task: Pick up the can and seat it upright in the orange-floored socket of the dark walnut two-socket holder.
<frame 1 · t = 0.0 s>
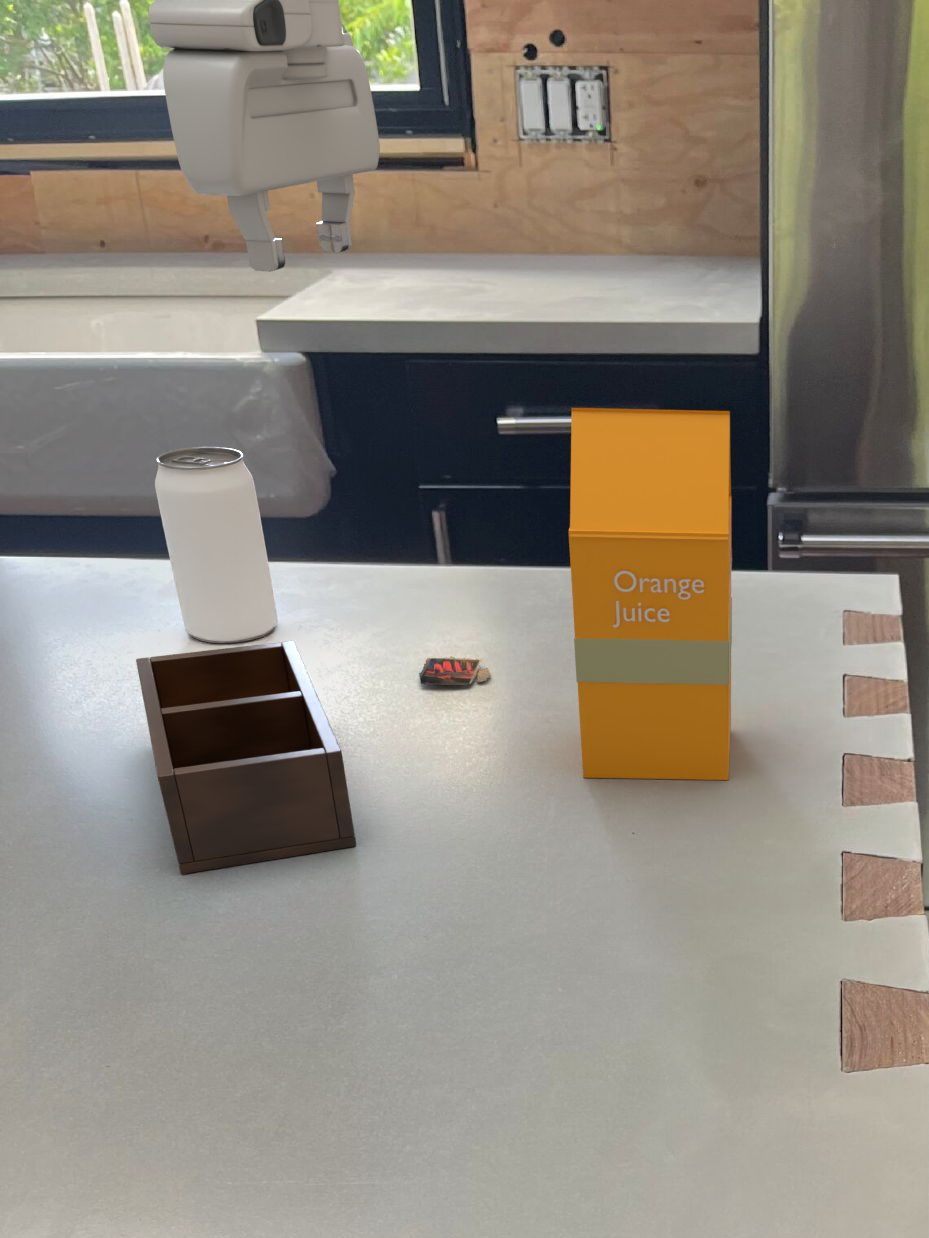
hand: (303, 260, 101), 23 cm above the kitchen island, tool pointing down, fingers open, 8 cm apart
holder: (250, 793, 86), on the kitchen island
can: (233, 632, 108), on the kitchen island
matchbox: (455, 677, 101), on the kitchen island
orange juice: (659, 755, 92), on the kitchen island
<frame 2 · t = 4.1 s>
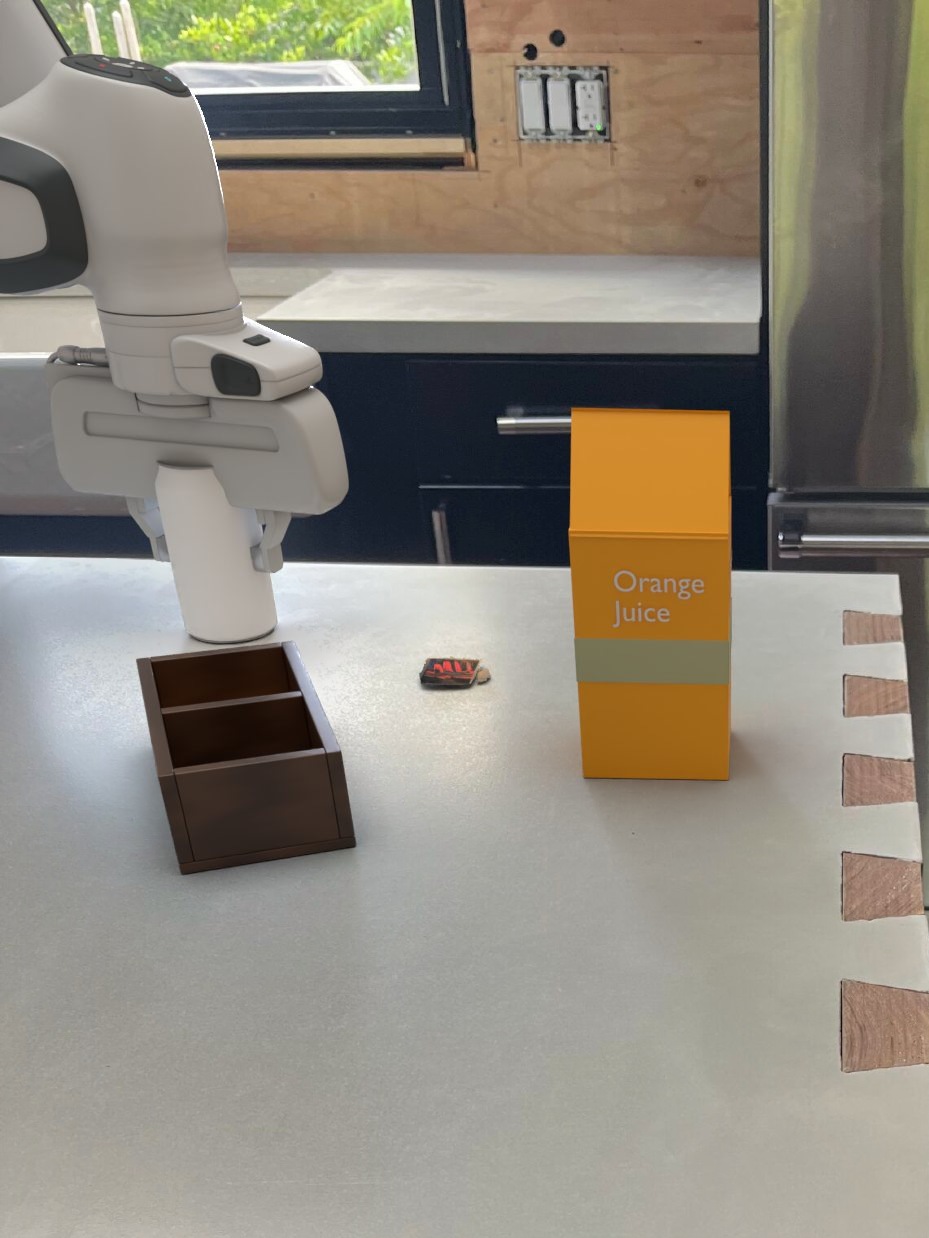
hand: (220, 565, 105), 5 cm above the kitchen island, tool pointing down, fingers closed on can, 6 cm apart
can: (233, 632, 108), on the kitchen island, touching gripper
everything else where it was.
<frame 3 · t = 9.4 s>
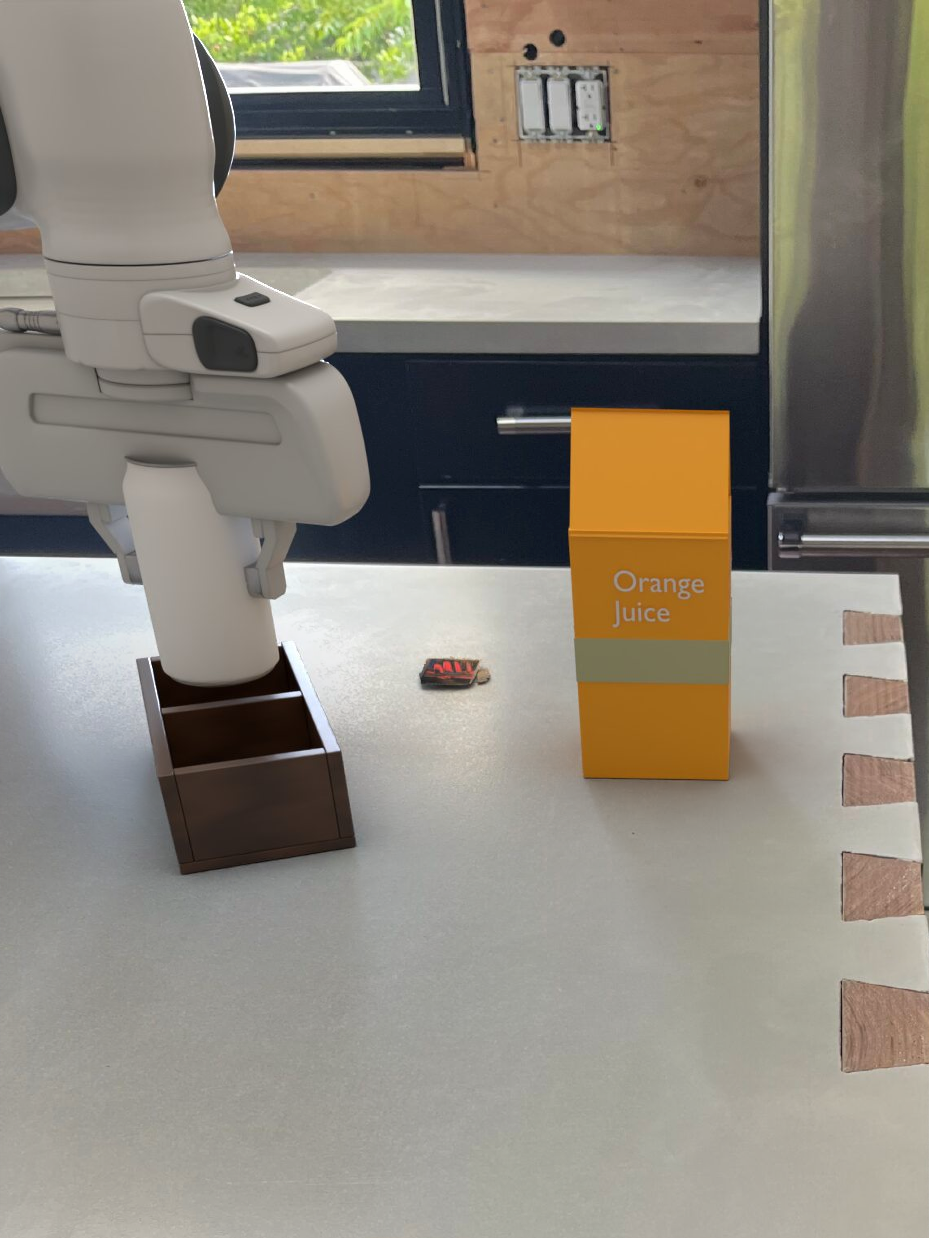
hand: (206, 589, 83), 11 cm above the kitchen island, tool pointing down, fingers closed on can, 6 cm apart
can: (223, 672, 86), point 6 cm above the kitchen island, touching gripper
everything else where it was.
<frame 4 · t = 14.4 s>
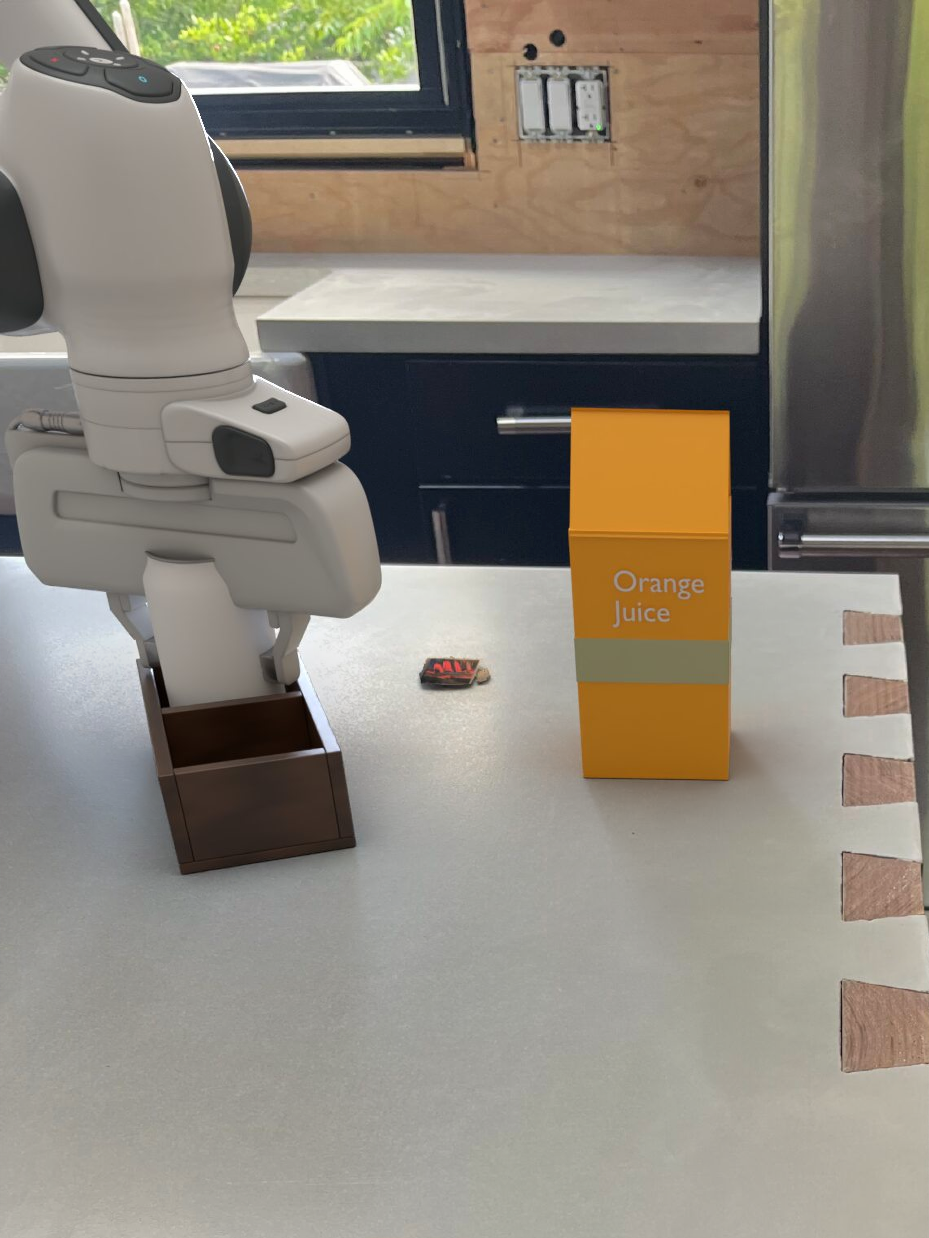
hand: (222, 673, 86), 6 cm above the kitchen island, tool pointing down, fingers closed on can, 6 cm apart
can: (238, 751, 89), point 1 cm above the kitchen island, touching gripper
everything else where it was.
when the fingers open (6 cm above the kitchen island, at t = 18.2 s): can stays where it is, resting on holder.
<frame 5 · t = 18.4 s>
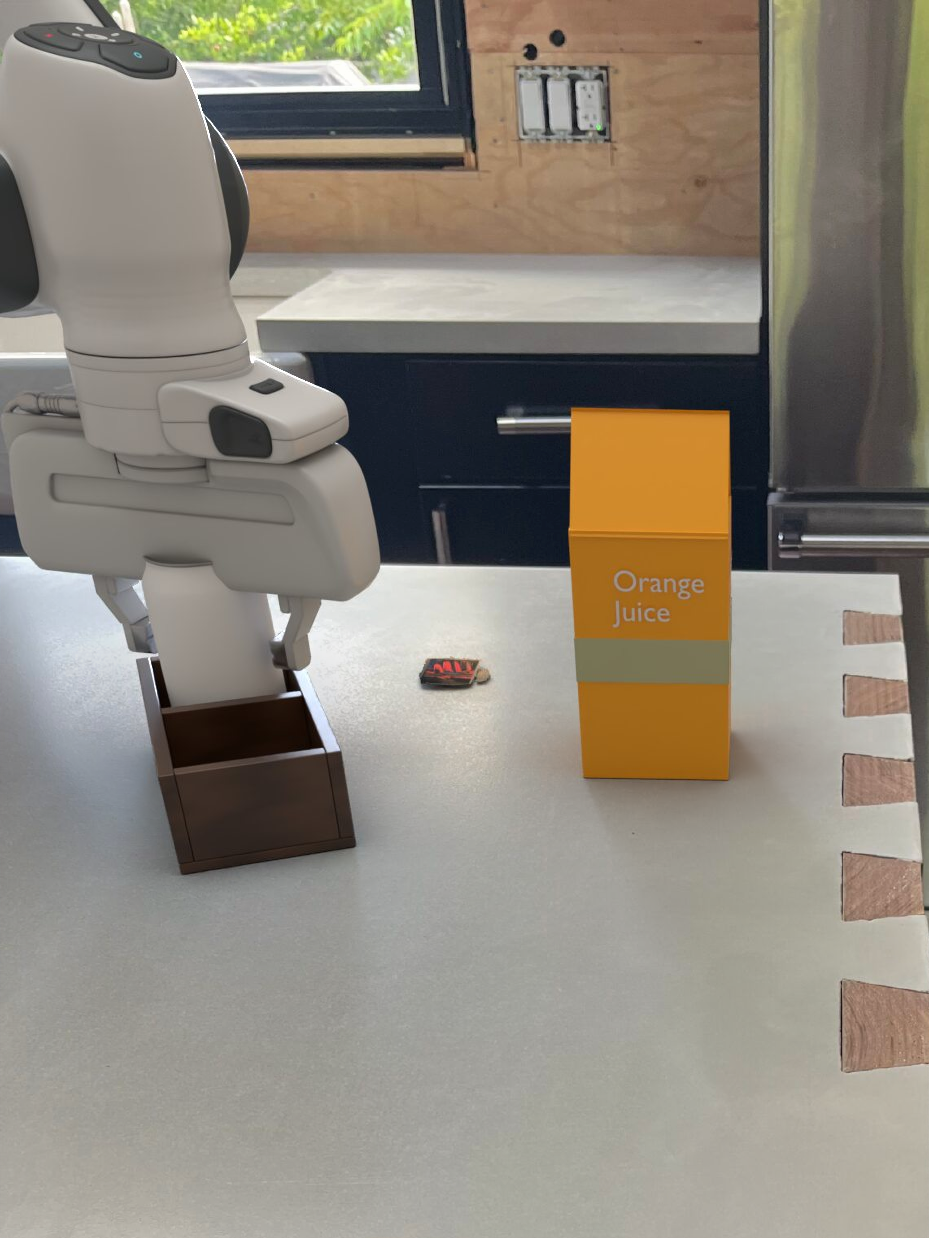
hand: (220, 658, 85), 7 cm above the kitchen island, tool pointing down, fingers open, 8 cm apart
can: (241, 753, 89), point 1 cm above the kitchen island, touching holder
everything else where it was.
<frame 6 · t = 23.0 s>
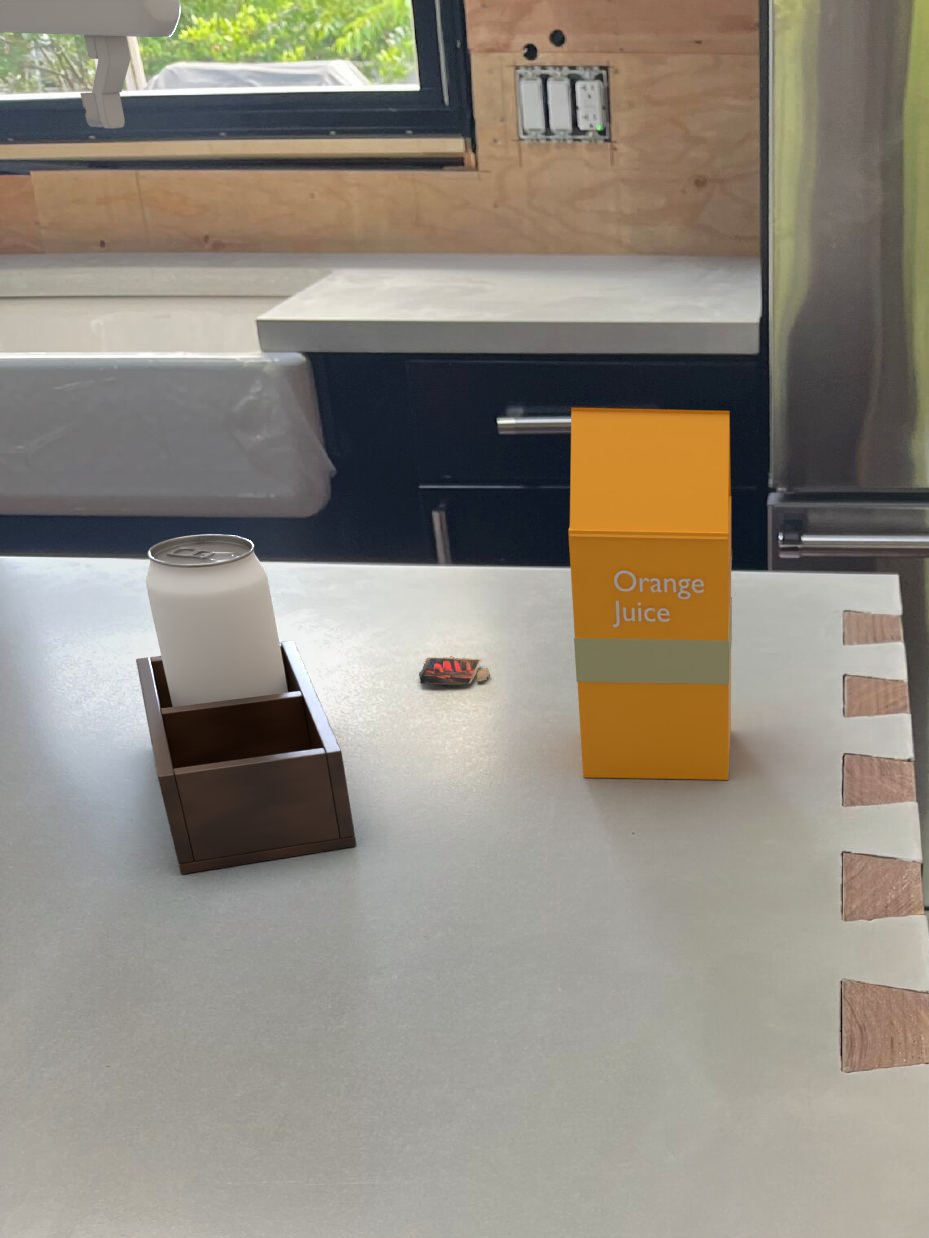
hand: (37, 125, 90), 31 cm above the kitchen island, tool pointing down, fingers open, 8 cm apart
nothing on the kitchen island moved.
at the end: can 0.2 cm from the target spot in the holder, point 0.6 cm above the holder's base; can tilted 0°; the gripper is holding nothing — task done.
